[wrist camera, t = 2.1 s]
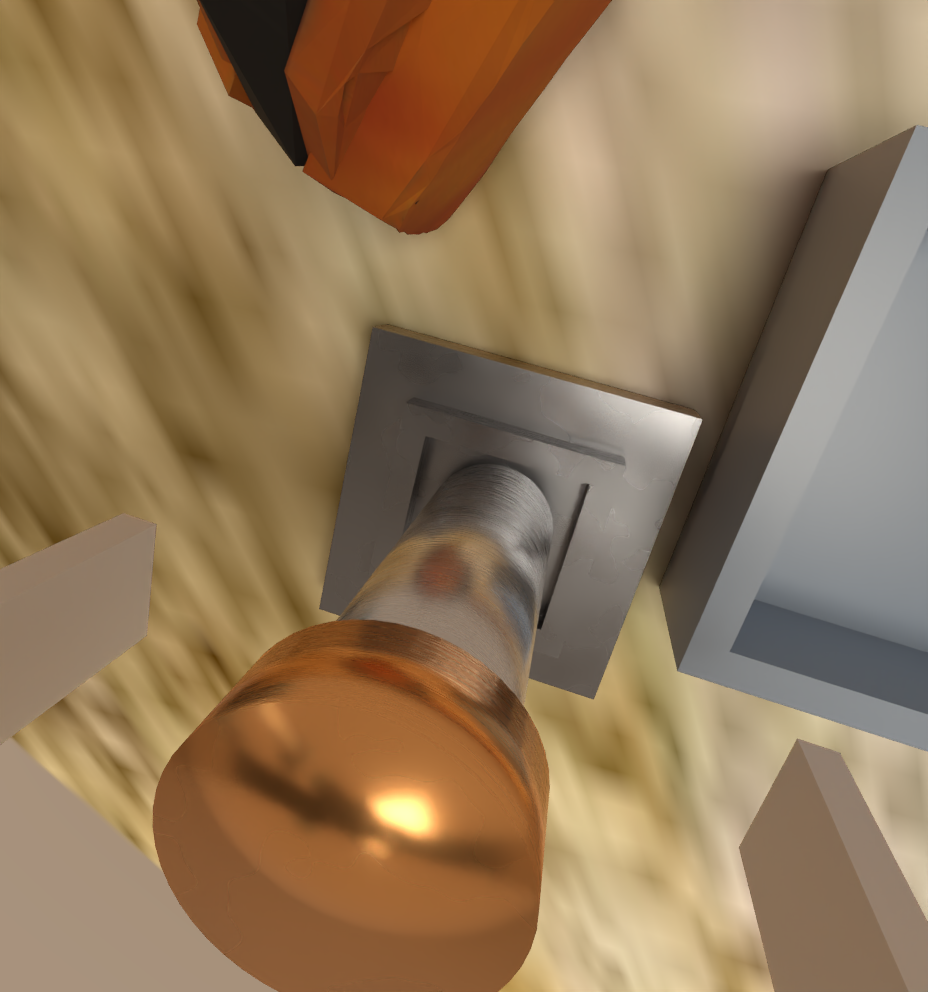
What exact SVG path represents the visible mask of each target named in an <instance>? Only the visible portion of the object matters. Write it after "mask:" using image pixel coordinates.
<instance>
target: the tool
mask: <svg viewBox="0 0 928 992" xmlns="http://www.w3.org/2000/svg"><path fill="white" fill-rule="evenodd" d="M611 1H612V0H197V2H198V4H199V6H200V11H199V16H198V22H197V25H198V28H199V30H200V32H201V34H202V37H203V39H204V41H205V43H206V46H207V48H208V50H209V52H210V55H211V57H212V59H213V61H214V64H215V66H216V68H217V70H218V73H219V75H220V77H221V79H222V82H223V84H224V86H225V88H226V91H227V93H228V95H229V96H230V97H232V98H234V99H236V100H238V101H240V102H242V103H244V104H246V105H248V106H250V107H252V108H253V109H254V111H255V112H256V113H257V115H258V116H259V118H260V119H261V120H262V122H263V123H264V124H265V126H266V127H267V128H268V130H269V131H270V132H271V134H272V135H273V137H274V138H275V139H276V141H277V142H278V143H279V145H280V146H281V147H282V149H283V150H284V151H285V153H286V154H287V156H288V157H289V158H290V160H291V161H292V162H293V164H294V165H295V166H304V169H303V172H304V173H306V174H307V175H309V176H310V177H312V178H313V179H314V180H316V181H318V182H319V183H321V184H322V185H324V186H325V187H327V188H328V189H330V190H331V191H333V192H334V193H336V194H338V195H340V196H342V197H345V198H346V199H348V200H349V201H351V202H353V203H354V204H356V205H358V206H359V207H361V208H362V209H364V210H366V211H367V212H369V213H370V214H372V215H374V216H375V217H377V218H379V219H380V220H382V221H384V222H385V223H387V224H389V225H391V226H393V227H394V228H396V229H397V230H398V232H399V233H400V232H405V233H406V234H418V235H419V234H421V233H423V232H424V233H428V232H430V231H433V230H436V229H438V228H439V227H440V226H441V225H442V224H444V223H445V222H446V221H447V220H448V219H449V218H450V217H451V215H452V214H453V213H454V212H455V211H456V209H457V208H458V207H459V206H460V204H461V203H462V202H463V201H464V199H465V198H466V197H467V195H468V194H469V193H470V192H471V190H472V189H473V188H474V186H475V185H476V184H477V183H478V181H479V180H480V179H481V177H482V176H483V175H484V174H485V172H486V171H487V169H488V168H489V166H490V165H491V163H492V162H493V160H494V159H495V157H496V156H497V154H498V153H499V151H500V150H501V148H502V147H503V145H504V144H505V142H506V141H507V139H508V138H509V136H510V135H511V133H512V132H513V130H514V129H515V127H516V126H517V125H518V123H519V122H520V121H521V119H522V118H523V117H524V115H525V114H526V113H527V111H528V110H529V109H530V107H531V106H532V105H533V103H534V102H535V101H536V99H537V98H538V97H539V95H540V94H541V93H542V91H543V90H544V89H545V87H546V86H547V85H548V83H549V82H550V80H551V79H552V78H553V76H554V75H555V73H556V72H557V71H558V69H559V68H560V67H561V65H562V64H563V62H564V61H565V60H566V58H567V57H568V55H569V54H570V53H571V52H572V50H573V49H574V48H575V47H576V45H577V44H578V43H579V42H580V40H581V39H582V38H583V37H584V35H585V34H586V33H587V31H588V30H589V29H590V28H591V26H592V25H593V24H594V23H595V21H596V20H597V19H598V17H599V16H600V15H601V14H602V12H603V11H604V10H605V8H606V7H607V6H608V5H609V3H610V2H611Z"/></svg>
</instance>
